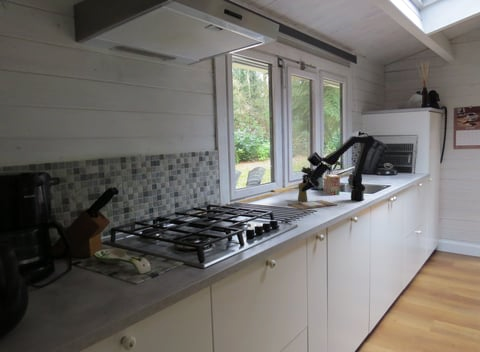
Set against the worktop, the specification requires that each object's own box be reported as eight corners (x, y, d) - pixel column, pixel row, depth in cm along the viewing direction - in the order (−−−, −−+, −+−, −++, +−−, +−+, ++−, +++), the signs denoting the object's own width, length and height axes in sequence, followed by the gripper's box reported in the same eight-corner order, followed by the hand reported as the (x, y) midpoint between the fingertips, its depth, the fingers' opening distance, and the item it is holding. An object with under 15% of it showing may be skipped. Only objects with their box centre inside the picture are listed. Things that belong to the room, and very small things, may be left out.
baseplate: (321, 201, 220) (321, 199, 220) (337, 205, 208) (337, 203, 208) (287, 205, 209) (287, 203, 209) (302, 209, 197) (302, 207, 197)
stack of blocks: (323, 190, 265) (323, 172, 263) (331, 189, 265) (332, 172, 263) (330, 195, 243) (330, 176, 242) (339, 195, 243) (340, 176, 242)
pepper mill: (296, 201, 220) (296, 183, 218) (298, 200, 225) (298, 182, 224) (306, 202, 218) (306, 183, 216) (308, 200, 223) (308, 182, 222)
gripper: (305, 161, 228) (287, 179, 229) (314, 163, 210) (294, 183, 210) (317, 173, 230) (300, 191, 230) (327, 177, 211) (308, 196, 212)
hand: (300, 190), depth 221 cm, fingers open, 6 cm apart
